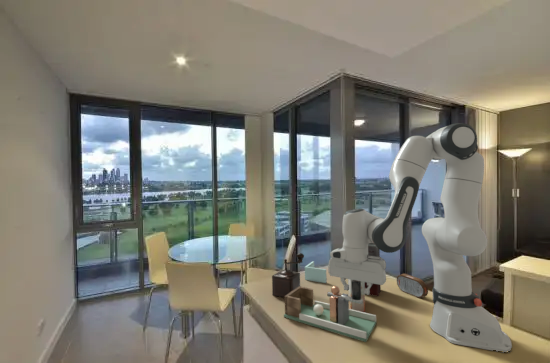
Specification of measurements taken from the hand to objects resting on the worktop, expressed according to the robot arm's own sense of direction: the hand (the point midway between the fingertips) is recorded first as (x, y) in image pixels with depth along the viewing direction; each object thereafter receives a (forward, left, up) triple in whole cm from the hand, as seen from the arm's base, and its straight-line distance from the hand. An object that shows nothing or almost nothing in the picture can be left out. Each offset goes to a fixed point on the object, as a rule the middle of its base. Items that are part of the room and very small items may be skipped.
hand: (356, 291), depth 97 cm
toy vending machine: (+6, -36, -13) cm, 39 cm away
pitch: (+11, 0, -13) cm, 17 cm away
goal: (+24, 0, -12) cm, 27 cm away
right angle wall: (+34, -41, -14) cm, 55 cm away
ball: (+15, 0, -10) cm, 18 cm away
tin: (-12, -43, -13) cm, 46 cm away
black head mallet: (+4, 0, -12) cm, 12 cm away
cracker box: (+6, -19, -13) cm, 24 cm away
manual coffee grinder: (+38, -16, -13) cm, 43 cm away
